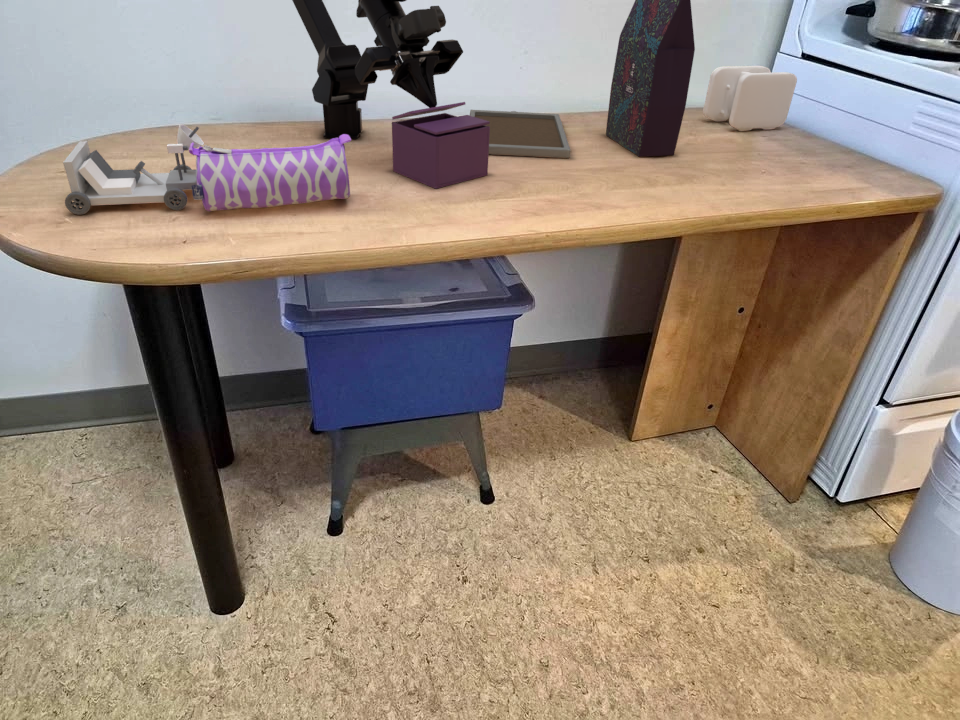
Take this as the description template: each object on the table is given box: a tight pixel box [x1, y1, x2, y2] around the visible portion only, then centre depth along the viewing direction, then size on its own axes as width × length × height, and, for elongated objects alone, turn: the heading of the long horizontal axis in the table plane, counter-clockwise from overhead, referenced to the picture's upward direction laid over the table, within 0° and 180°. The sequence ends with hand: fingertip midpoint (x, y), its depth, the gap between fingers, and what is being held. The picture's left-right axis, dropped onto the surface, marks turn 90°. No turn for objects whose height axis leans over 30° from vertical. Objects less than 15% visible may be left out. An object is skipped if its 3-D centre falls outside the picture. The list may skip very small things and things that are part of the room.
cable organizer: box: [702, 65, 798, 132], centre depth 150 cm, size 15×11×12 cm
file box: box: [391, 112, 490, 190], centre depth 113 cm, size 11×12×9 cm
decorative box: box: [605, 0, 696, 158], centre depth 128 cm, size 8×16×28 cm, turn 16°
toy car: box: [62, 123, 205, 216], centre depth 97 cm, size 18×10×12 cm
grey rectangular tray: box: [469, 109, 571, 159], centre depth 137 cm, size 19×2×30 cm
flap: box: [391, 101, 466, 120], centre depth 112 cm, size 5×11×1 cm, turn 134°
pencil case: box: [188, 134, 352, 212], centre depth 98 cm, size 22×9×10 cm, turn 111°
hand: (434, 106), depth 111 cm, fingers closed
